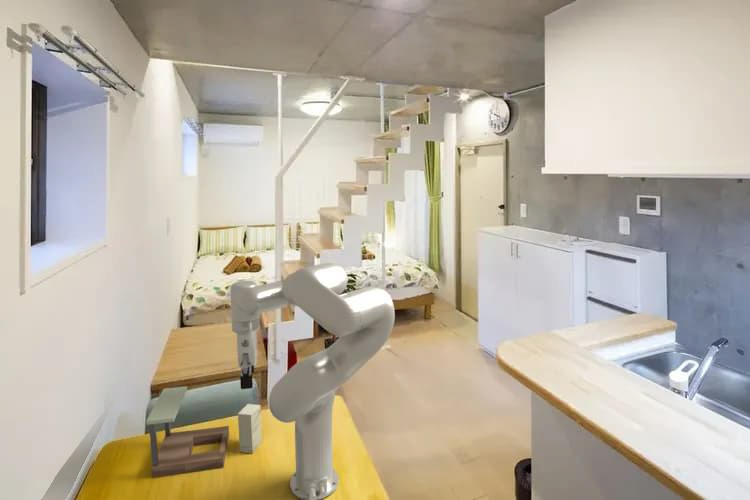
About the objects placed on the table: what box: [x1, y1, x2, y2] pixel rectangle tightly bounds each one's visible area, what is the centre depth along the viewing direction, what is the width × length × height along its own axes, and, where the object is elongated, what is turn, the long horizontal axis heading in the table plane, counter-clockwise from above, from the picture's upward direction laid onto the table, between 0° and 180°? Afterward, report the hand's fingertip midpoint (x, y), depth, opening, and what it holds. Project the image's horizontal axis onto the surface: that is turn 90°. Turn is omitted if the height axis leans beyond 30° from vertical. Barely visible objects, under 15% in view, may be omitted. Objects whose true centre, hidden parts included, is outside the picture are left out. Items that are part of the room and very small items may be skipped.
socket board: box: [145, 386, 230, 479], centre depth 119 cm, size 18×18×17 cm
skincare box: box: [237, 403, 263, 454], centre depth 124 cm, size 6×4×12 cm
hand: (247, 380), depth 122 cm, fingers open, 9 cm apart
